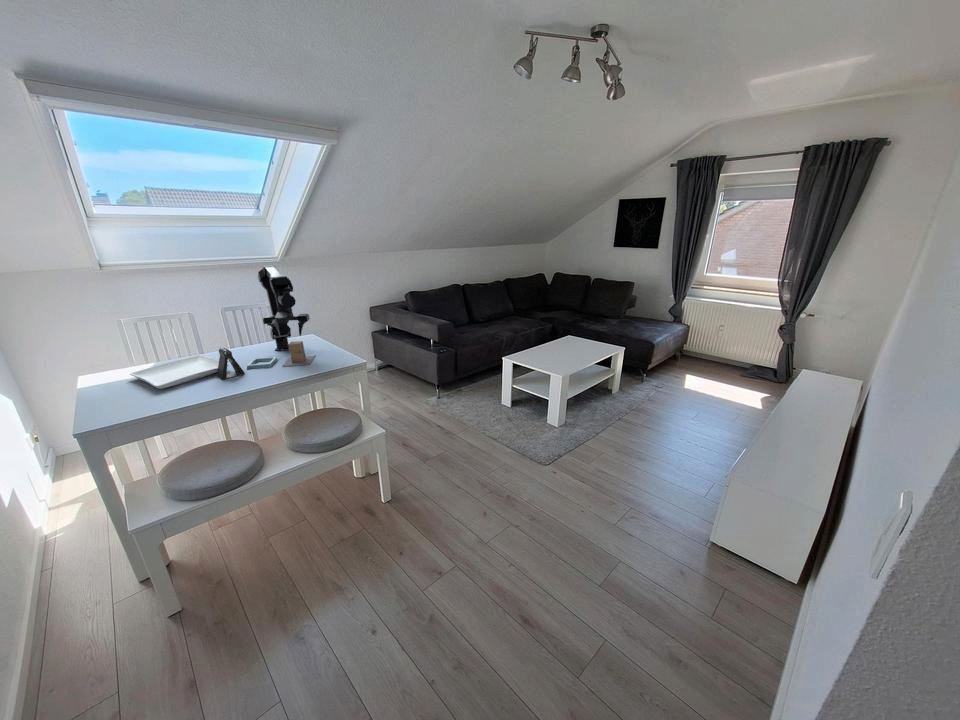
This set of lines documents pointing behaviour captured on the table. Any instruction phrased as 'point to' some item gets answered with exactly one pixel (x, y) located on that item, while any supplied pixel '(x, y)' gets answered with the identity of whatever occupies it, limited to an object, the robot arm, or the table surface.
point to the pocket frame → (253, 365)
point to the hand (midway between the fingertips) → (290, 336)
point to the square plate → (178, 371)
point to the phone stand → (223, 365)
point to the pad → (306, 362)
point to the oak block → (297, 351)
